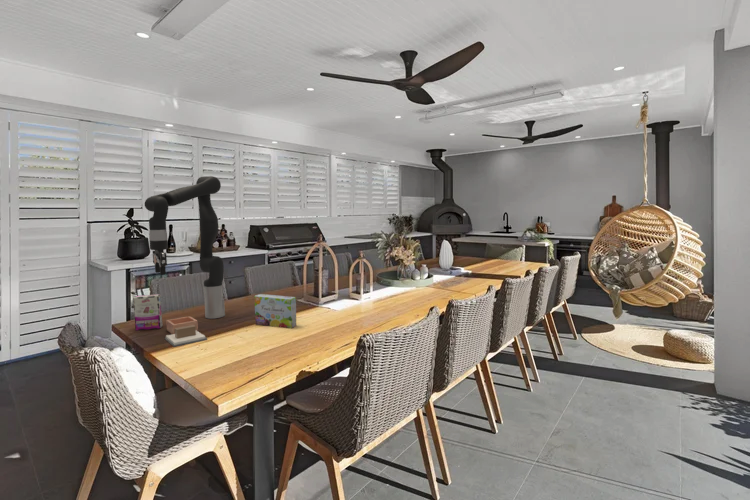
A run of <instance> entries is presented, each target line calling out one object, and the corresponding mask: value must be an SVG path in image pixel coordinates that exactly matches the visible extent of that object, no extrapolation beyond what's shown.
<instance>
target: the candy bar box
mask: <svg viewBox="0 0 750 500" xmlns="http://www.w3.org/2000/svg"><path fill="white" fill-rule="evenodd" d="M161 298H162V297H161V294H160V293H159V294H144V295H143V294H142V295H135V296H133V298H132V299H133V301H132V302H133V313H134V315H133V316H134V326H135V331H147V330H148V331H149V330H160V329H161V328H162V327H163V315H162V312H163V311H162V300H161Z"/></svg>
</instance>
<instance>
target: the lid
mask: <svg viewBox="0 0 750 500" xmlns="http://www.w3.org/2000/svg"><path fill="white" fill-rule="evenodd" d="M205 337H206V335H205V334H203V333H201V332H199V330H198V331H197V330H196V327H195V326H194V325H190V326H185V327H179V328H175V334H166V335H165V338H167V339H168V340H169V341H170V342H172V343H173V344H174V345H177V344H182V343H186V342H191V341H196V340H201V339H206V338H207V337H206V338H205Z"/></svg>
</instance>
